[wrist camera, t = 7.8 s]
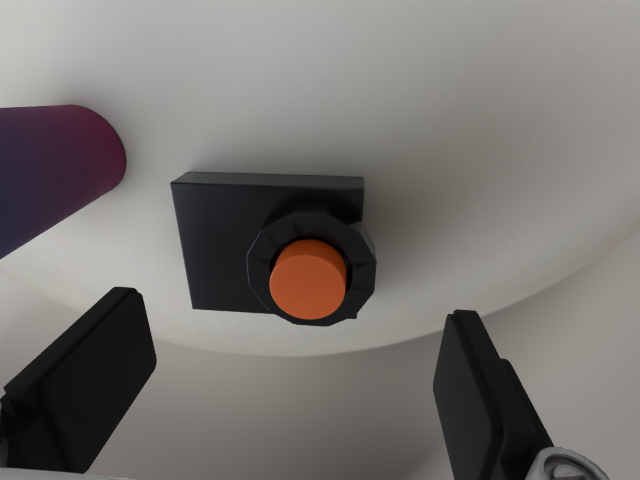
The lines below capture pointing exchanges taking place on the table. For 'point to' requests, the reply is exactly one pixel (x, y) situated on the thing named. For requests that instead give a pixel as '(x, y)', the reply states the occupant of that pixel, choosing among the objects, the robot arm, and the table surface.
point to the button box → (268, 236)
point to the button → (309, 279)
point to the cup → (52, 167)
